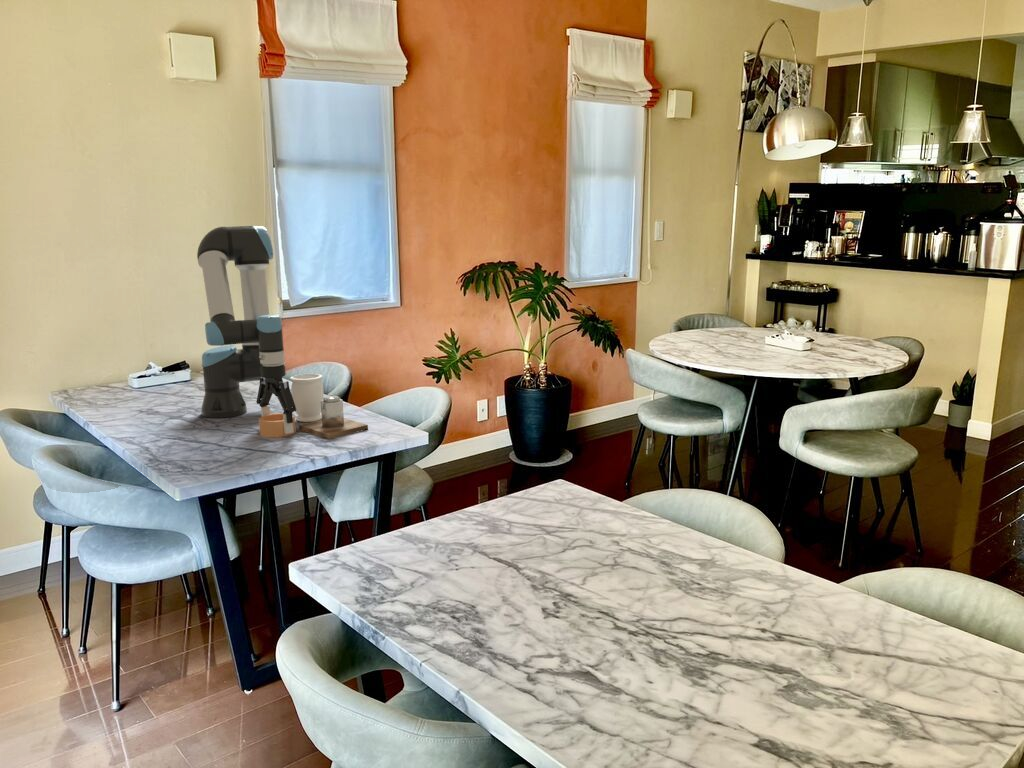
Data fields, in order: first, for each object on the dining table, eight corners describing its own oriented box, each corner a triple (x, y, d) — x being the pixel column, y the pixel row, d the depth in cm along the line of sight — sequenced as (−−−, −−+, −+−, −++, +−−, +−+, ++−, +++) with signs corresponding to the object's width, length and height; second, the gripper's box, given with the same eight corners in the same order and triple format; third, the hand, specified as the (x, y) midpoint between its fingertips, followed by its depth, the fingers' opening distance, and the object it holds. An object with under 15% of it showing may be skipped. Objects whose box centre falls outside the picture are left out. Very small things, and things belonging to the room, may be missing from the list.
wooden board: (299, 429, 268) (298, 425, 267) (338, 420, 278) (337, 416, 278) (328, 439, 256) (328, 434, 256) (368, 429, 266) (367, 424, 266)
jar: (329, 415, 285) (326, 373, 282) (319, 423, 275) (316, 379, 272) (299, 415, 286) (296, 373, 283) (288, 423, 276) (285, 379, 273)
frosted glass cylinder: (317, 425, 267) (316, 398, 265) (336, 421, 272) (334, 394, 270) (330, 429, 262) (328, 401, 260) (348, 424, 267) (346, 397, 265)
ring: (253, 432, 264) (252, 417, 263) (284, 426, 272) (283, 411, 271) (271, 439, 257) (270, 423, 256) (302, 432, 265) (301, 417, 264)
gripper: (242, 361, 266) (247, 425, 270) (282, 370, 249) (288, 438, 253) (263, 358, 271) (268, 421, 275) (304, 366, 254) (309, 433, 258)
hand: (277, 429), depth 264 cm, fingers open, 13 cm apart
